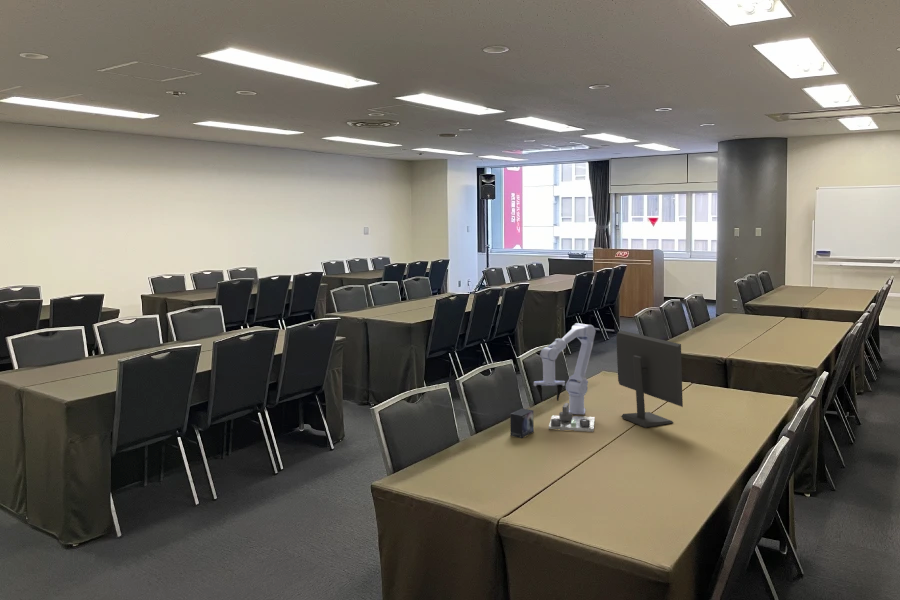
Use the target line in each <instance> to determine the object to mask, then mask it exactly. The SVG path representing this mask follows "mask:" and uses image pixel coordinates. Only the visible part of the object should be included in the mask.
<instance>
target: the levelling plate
mask: <svg viewBox="0 0 900 600" xmlns="http://www.w3.org/2000/svg"><path fill="white" fill-rule="evenodd" d="M595 418H596V417H595V416H581V415H575V416H574V415H572V421H561V420H560V419H559V415H556V414H555V415H552V416H551V417H550V422H549V424H548V430H549V429H560V430H559V431H564V430H574V431H573V432H591V433H593V432H595V431H594V430H595V429H594V428H595Z"/></svg>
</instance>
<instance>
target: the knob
mask: <svg viewBox="0 0 900 600" xmlns="http://www.w3.org/2000/svg"><path fill="white" fill-rule="evenodd" d="M561 409H562V411H560V412H559V413H558V416H559V419H560V420H561V421H572V416H573V414H572V413H571V412H569V402H565V403H564V404H563V405H562V407H561Z"/></svg>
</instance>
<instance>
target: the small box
mask: <svg viewBox="0 0 900 600" xmlns="http://www.w3.org/2000/svg"><path fill="white" fill-rule="evenodd" d="M509 415H510V416H509V417H510V422H509V423H510V424H509V425H510V427H509V428H510V431H509V432H510V434H509V435H510V437H514V438H519V439H523V438H525V437H527V436H530V435H531V434H533V433H534V410H532V409H528V408H523V407H521V408H519V409H518V410H515V411H513V412H511V413H509ZM532 432H533V433H532Z"/></svg>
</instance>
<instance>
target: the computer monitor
mask: <svg viewBox="0 0 900 600" xmlns="http://www.w3.org/2000/svg"><path fill="white" fill-rule="evenodd" d="M616 357H617V358H616V363H617V365H616V366H617V381H618V385H619V386H622V387H625V388H627V389H631V390H633V391H635V399H636V412H629V413H623V414H622V415H621V416H620V417H621V418H622V419H624V420H626V421H629V422H631V423H633V424H636V425H637V426H639V427H643V428H644V429H645V428H652V427H658V426H664V425H665V426H666V425H670V423H671V424H674V421H673V420H672V419H668V418H665V417H663V416H661V415H658V414H656V413H652V412H650V411H646V407H645V406H646V405H645V395H648V396H650V397H654V398H656V399H659V400H662V401H665V402H668V403H671V404H674V405H676V406H679V407H681V408H683V406H684V405H683V403H684V402H683V375H682V373H683V368H682V363H683V362H682V344H681V343H678V342H674V341H669V340H664V339H660V338H656V337H651V336H647V335H642V334H638V333H633V332H629V331H625V330H619V331H618V332H617V333H616Z"/></svg>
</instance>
